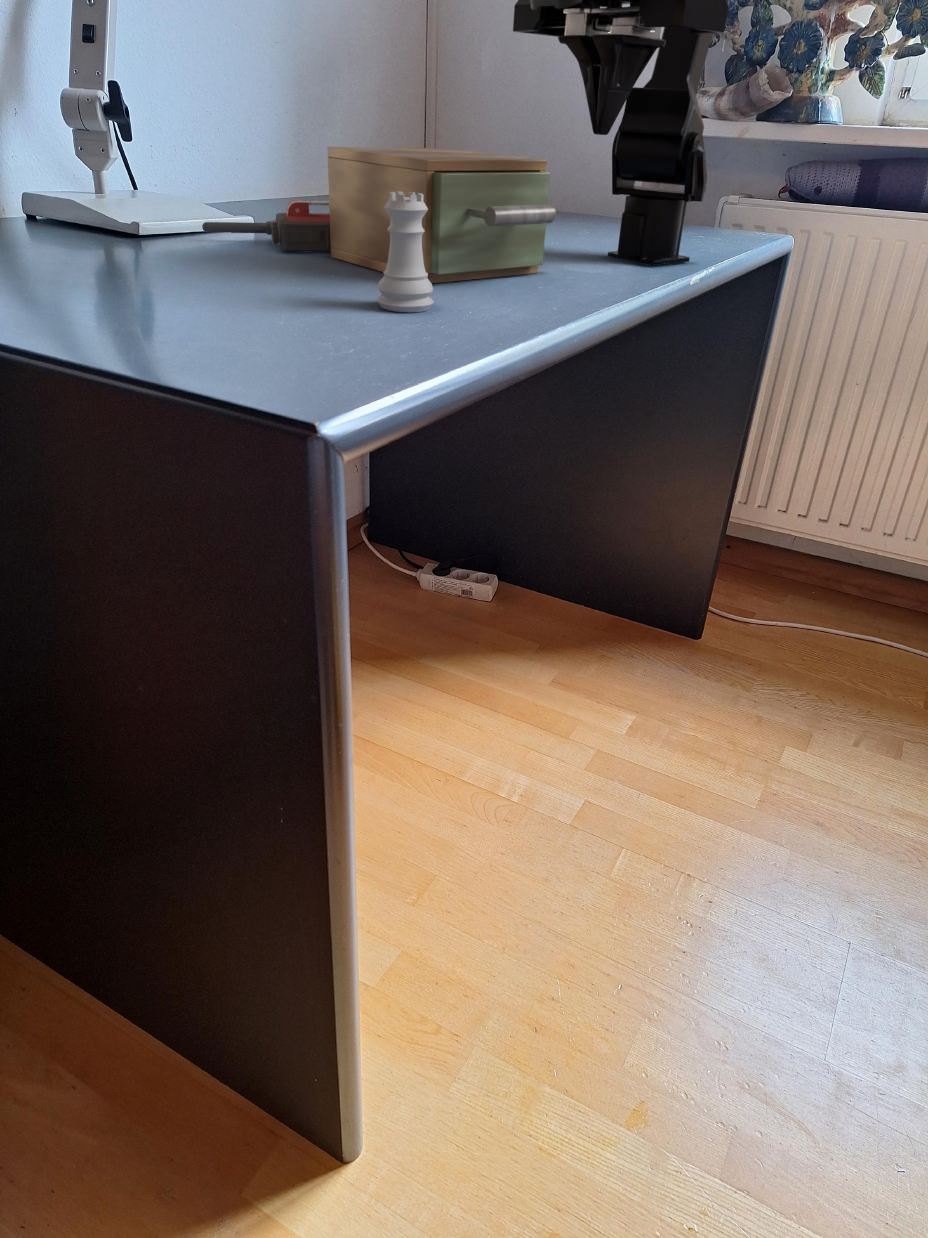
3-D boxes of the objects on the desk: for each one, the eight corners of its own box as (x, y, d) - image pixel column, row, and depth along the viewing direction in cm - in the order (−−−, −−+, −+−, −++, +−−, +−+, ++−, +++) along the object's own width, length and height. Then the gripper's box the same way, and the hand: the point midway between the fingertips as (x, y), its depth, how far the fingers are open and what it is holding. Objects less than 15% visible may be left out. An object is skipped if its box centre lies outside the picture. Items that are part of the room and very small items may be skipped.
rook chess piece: (365, 307, 66) (363, 192, 62) (396, 298, 70) (396, 188, 66) (415, 315, 65) (417, 197, 60) (444, 306, 68) (447, 193, 64)
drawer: (572, 271, 79) (582, 176, 75) (466, 282, 72) (471, 177, 68) (448, 243, 91) (451, 159, 87) (348, 250, 84) (346, 159, 80)
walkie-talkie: (387, 240, 97) (203, 239, 92) (387, 197, 95) (198, 193, 90) (403, 253, 90) (204, 252, 85) (403, 206, 88) (199, 203, 83)
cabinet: (537, 272, 83) (547, 159, 78) (424, 284, 76) (426, 159, 71) (439, 249, 94) (442, 147, 89) (330, 257, 86) (327, 146, 81)
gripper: (468, -101, 68) (460, 126, 76) (649, -136, 56) (617, 139, 64) (569, -79, 74) (551, 129, 82) (751, -106, 62) (710, 141, 70)
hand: (600, 134), depth 74 cm, fingers closed
